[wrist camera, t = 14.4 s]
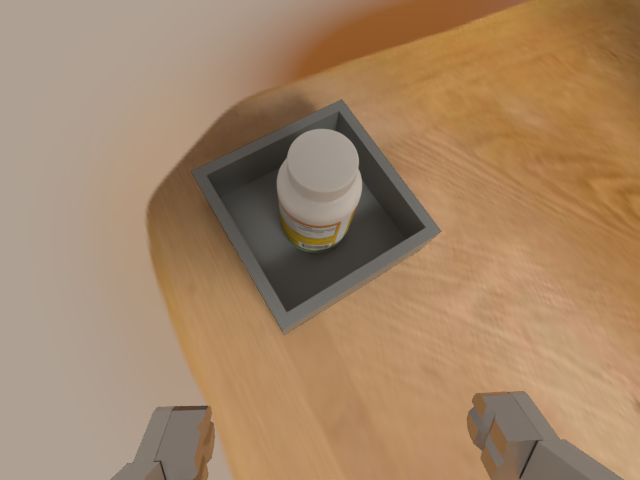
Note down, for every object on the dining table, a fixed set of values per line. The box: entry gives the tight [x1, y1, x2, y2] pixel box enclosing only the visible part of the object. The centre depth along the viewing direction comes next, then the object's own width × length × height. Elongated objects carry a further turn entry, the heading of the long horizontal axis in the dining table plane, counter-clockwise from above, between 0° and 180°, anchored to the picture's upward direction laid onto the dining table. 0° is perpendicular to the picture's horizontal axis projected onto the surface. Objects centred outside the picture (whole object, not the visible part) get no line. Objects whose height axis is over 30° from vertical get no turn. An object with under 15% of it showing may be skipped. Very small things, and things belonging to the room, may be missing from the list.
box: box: [191, 100, 441, 335], centre depth 27 cm, size 13×13×4 cm
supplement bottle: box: [277, 129, 362, 253], centre depth 24 cm, size 5×5×10 cm
